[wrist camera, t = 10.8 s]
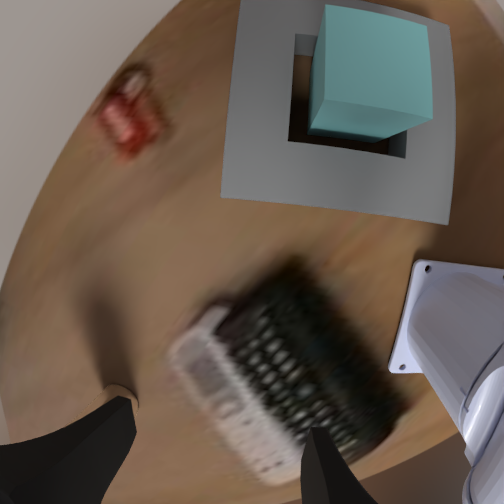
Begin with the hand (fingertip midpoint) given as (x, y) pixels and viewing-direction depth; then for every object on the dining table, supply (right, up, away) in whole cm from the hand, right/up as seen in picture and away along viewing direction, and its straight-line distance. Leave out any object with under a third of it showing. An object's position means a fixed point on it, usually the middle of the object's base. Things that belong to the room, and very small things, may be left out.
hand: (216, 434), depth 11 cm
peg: (+7, +16, +6) cm, 18 cm away
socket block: (+7, +16, +6) cm, 18 cm away
